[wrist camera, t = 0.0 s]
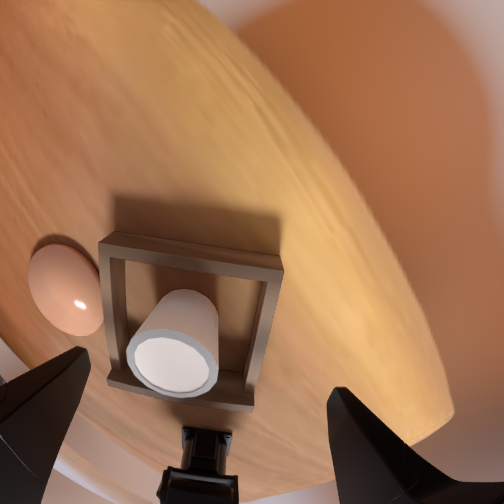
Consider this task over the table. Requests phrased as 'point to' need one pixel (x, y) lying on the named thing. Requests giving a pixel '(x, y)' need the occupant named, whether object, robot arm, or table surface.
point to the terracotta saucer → (66, 289)
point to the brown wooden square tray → (194, 259)
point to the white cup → (177, 346)
